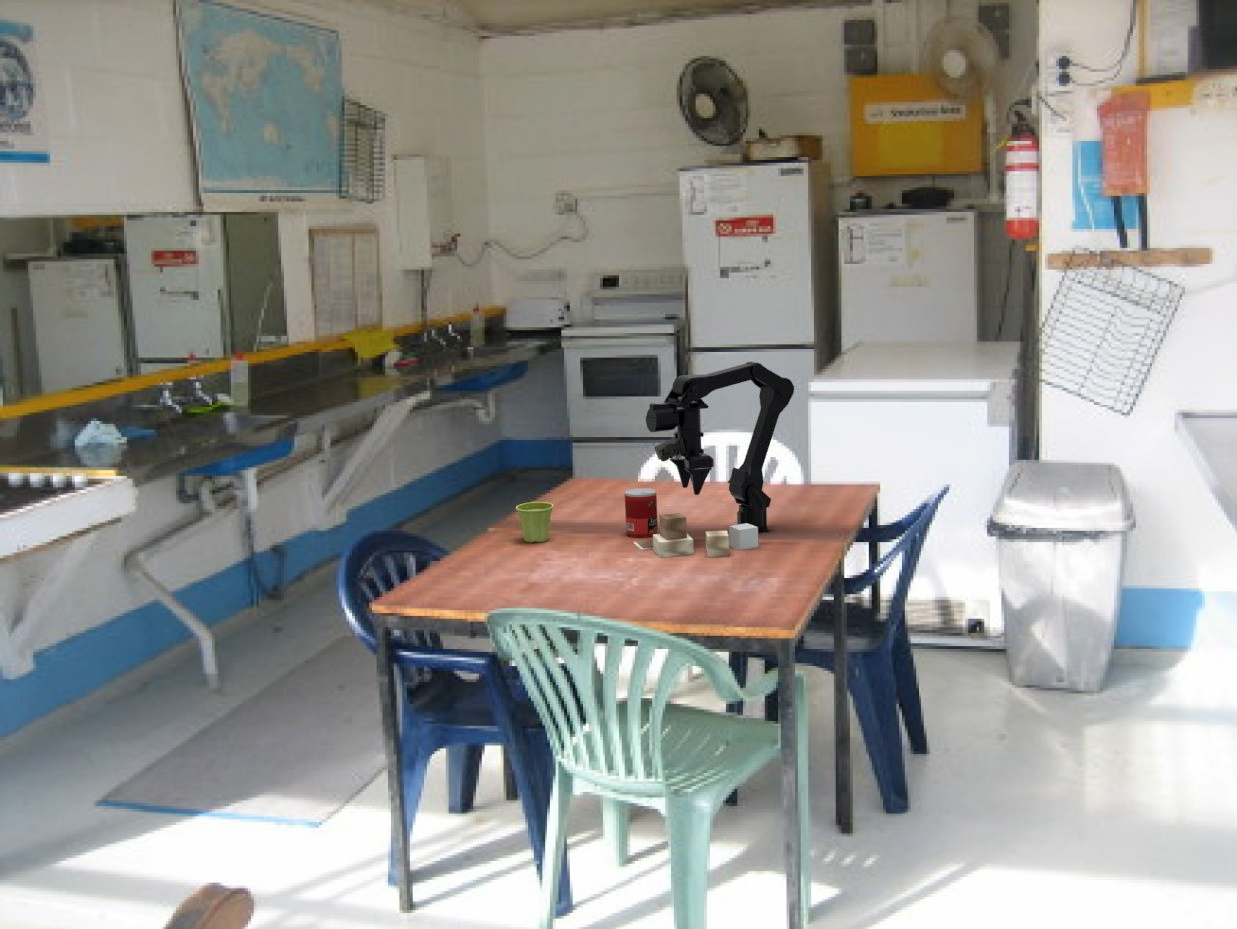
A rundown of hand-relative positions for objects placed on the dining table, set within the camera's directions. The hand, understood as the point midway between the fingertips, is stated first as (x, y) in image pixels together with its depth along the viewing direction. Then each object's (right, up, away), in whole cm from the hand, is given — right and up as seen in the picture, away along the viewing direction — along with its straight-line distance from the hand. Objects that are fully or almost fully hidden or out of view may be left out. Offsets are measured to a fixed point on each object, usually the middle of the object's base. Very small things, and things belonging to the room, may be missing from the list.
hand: (690, 491), depth 324 cm
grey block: (+12, -13, -7) cm, 19 cm away
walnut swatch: (-10, -13, -2) cm, 16 cm away
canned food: (-12, -11, +9) cm, 19 cm away
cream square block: (-5, -15, -9) cm, 18 cm away
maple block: (+6, -15, -13) cm, 20 cm away
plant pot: (-38, -13, +8) cm, 41 cm away
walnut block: (-5, -11, -10) cm, 15 cm away
